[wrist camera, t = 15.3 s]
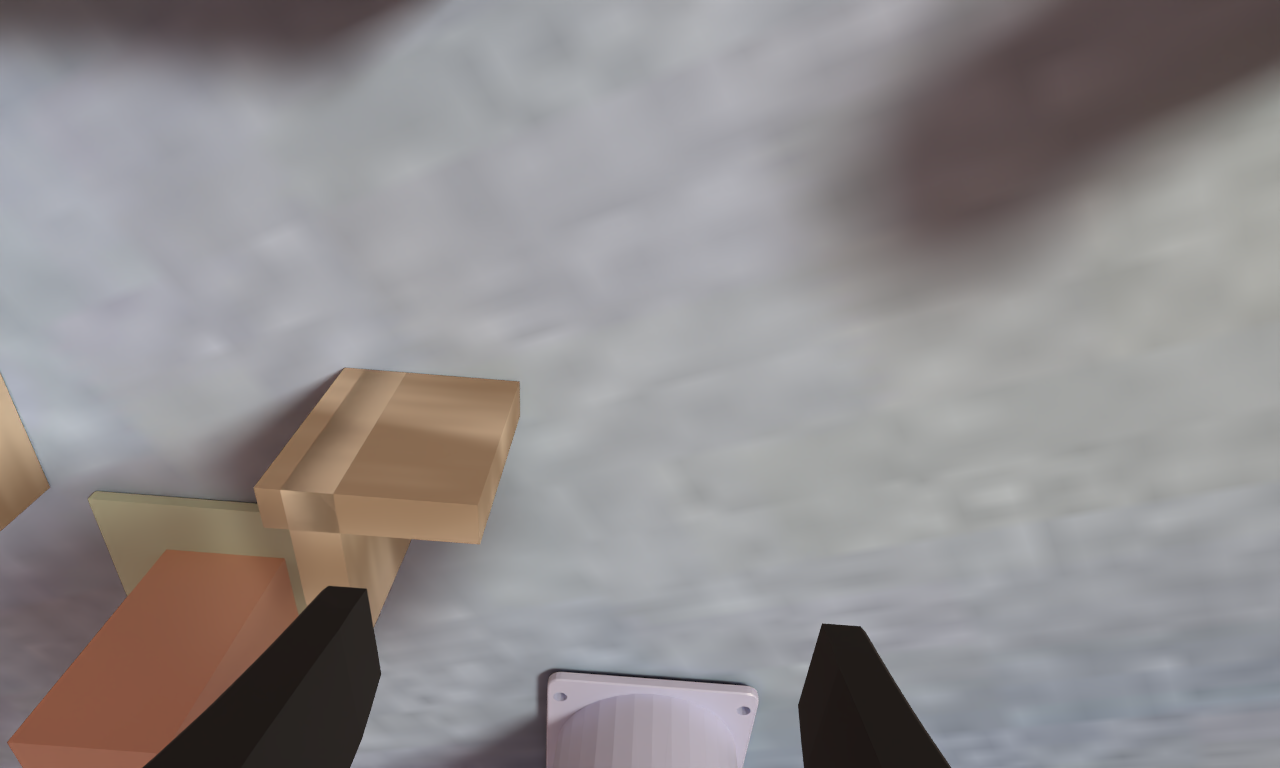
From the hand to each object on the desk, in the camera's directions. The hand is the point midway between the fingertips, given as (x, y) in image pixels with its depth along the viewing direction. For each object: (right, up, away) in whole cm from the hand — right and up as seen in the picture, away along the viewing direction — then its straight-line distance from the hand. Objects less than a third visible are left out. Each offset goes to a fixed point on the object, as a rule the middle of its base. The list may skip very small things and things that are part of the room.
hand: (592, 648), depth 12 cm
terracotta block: (-13, -3, +14) cm, 20 cm away
